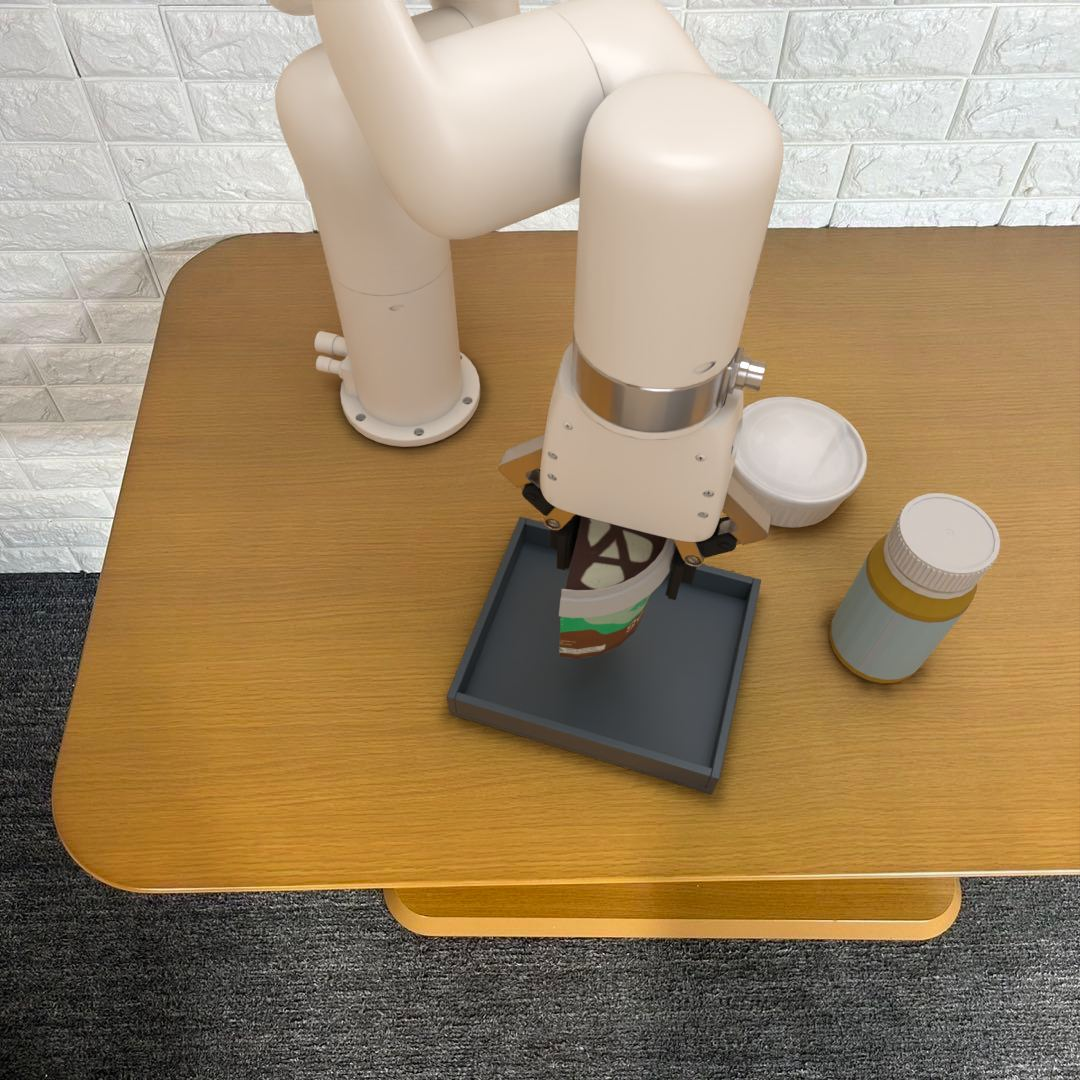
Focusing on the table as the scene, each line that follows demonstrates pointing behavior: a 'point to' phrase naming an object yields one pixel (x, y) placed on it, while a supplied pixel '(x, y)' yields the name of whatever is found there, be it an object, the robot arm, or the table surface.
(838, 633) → the bottle
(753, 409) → the ramekin
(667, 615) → the tray
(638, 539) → the food container
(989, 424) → the table surface
